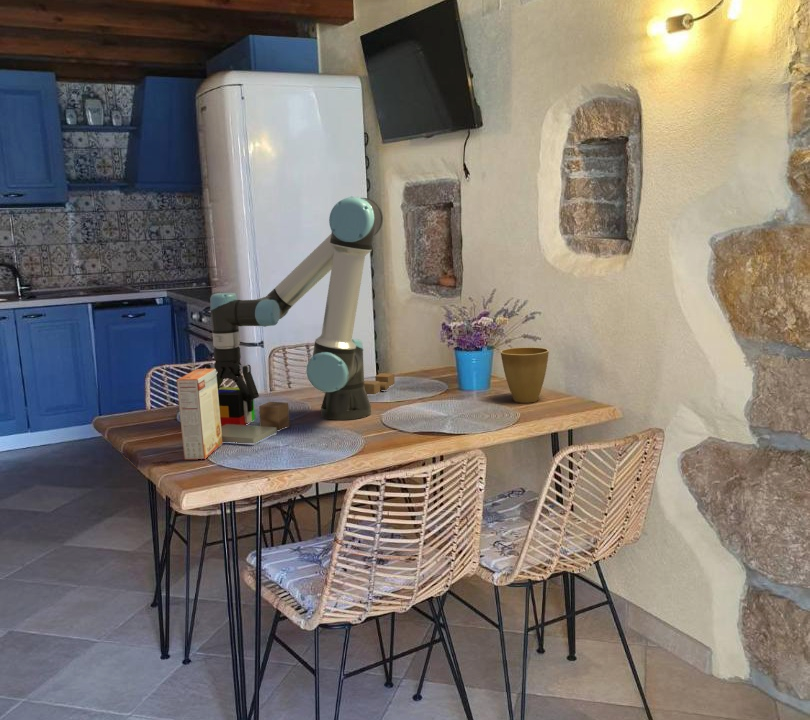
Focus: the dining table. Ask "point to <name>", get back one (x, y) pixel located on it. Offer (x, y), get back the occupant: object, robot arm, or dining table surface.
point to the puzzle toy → (232, 406)
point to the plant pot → (525, 372)
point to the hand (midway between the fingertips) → (232, 421)
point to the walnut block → (274, 415)
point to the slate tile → (245, 433)
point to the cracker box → (199, 413)
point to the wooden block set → (379, 383)
